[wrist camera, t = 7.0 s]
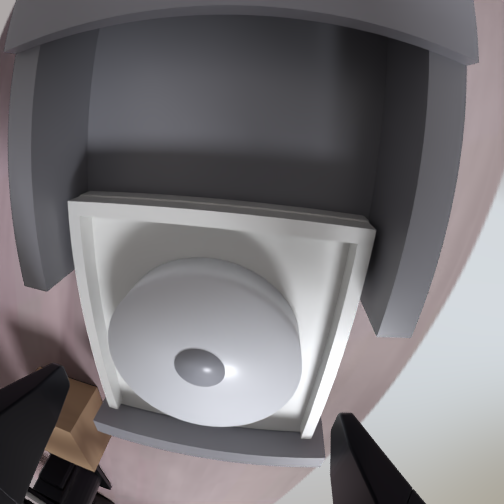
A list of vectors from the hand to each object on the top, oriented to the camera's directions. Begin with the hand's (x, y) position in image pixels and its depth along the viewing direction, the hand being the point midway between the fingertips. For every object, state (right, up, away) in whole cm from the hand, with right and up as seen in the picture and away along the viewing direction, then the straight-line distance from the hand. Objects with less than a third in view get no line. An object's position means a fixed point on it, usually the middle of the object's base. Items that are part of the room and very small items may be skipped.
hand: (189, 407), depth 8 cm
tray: (0, +1, +5) cm, 5 cm away
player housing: (+1, +11, +1) cm, 11 cm away
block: (-10, -6, +9) cm, 15 cm away
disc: (0, +1, +3) cm, 4 cm away
